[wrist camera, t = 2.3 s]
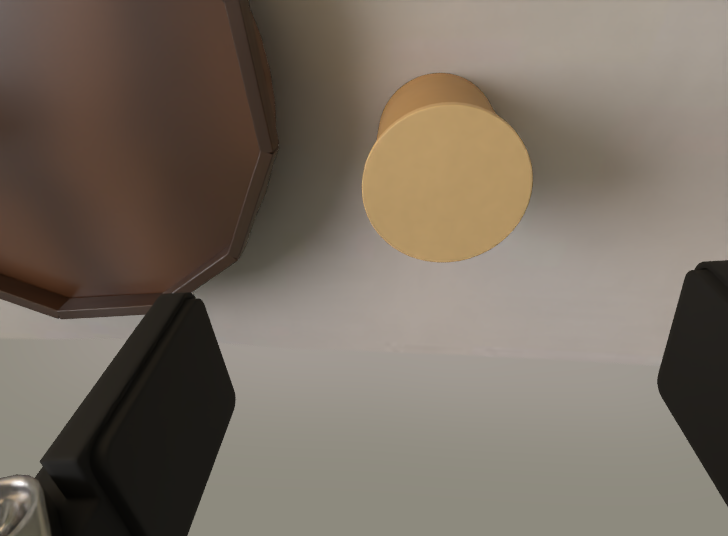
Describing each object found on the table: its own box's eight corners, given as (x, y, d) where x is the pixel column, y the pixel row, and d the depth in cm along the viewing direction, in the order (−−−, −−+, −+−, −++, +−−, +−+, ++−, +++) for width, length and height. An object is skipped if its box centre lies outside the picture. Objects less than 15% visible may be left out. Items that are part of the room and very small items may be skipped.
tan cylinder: (502, 58, 22) (538, 95, 16) (499, 187, 25) (528, 257, 19) (365, 74, 23) (351, 114, 17) (379, 197, 26) (371, 267, 20)
